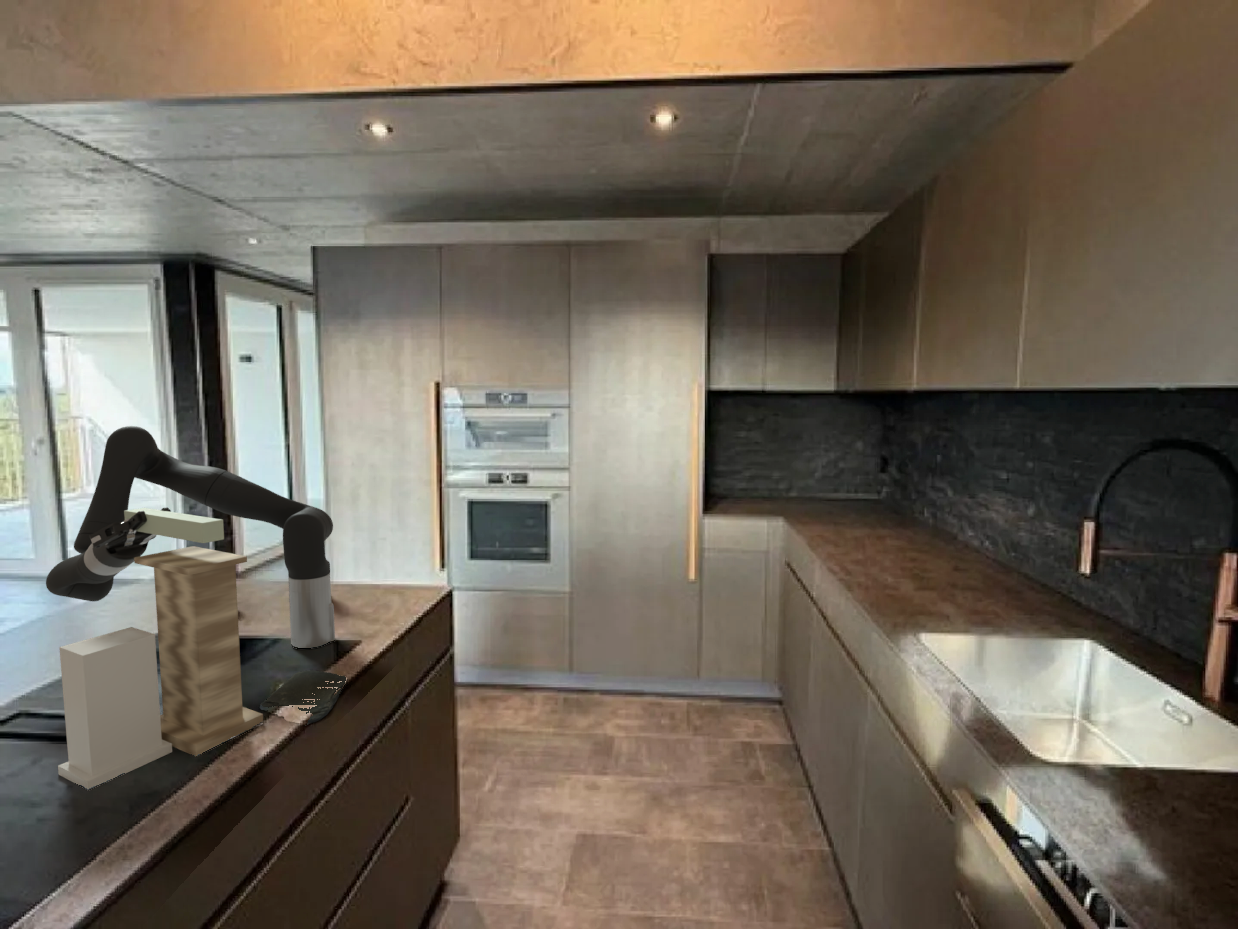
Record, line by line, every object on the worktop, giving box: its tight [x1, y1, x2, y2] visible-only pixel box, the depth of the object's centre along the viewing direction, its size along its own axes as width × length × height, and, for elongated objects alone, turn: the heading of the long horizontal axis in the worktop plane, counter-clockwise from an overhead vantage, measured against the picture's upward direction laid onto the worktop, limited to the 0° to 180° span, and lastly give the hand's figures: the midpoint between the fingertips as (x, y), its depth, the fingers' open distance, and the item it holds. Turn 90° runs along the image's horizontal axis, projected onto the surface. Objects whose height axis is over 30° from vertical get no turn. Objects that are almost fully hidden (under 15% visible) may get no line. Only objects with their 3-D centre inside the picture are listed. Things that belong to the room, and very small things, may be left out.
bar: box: [124, 507, 225, 544], centre depth 113 cm, size 24×4×4 cm, turn 64°
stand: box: [133, 545, 264, 757], centre depth 113 cm, size 17×12×32 cm
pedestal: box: [57, 626, 173, 789], centre depth 103 cm, size 9×12×21 cm
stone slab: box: [259, 669, 347, 726], centre depth 127 cm, size 24×17×2 cm
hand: (156, 514), depth 115 cm, fingers closed on bar, 3 cm apart
